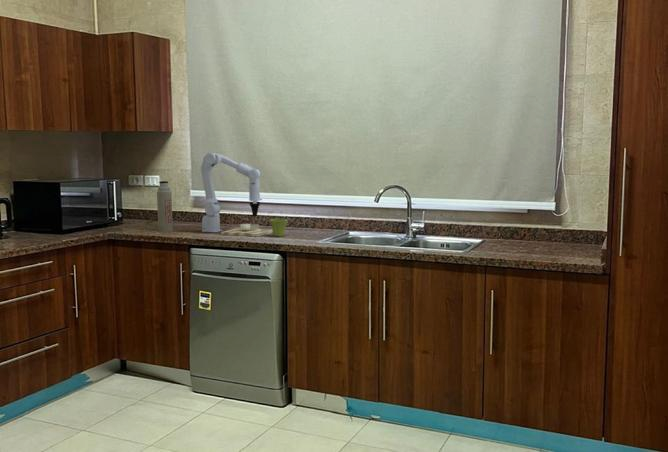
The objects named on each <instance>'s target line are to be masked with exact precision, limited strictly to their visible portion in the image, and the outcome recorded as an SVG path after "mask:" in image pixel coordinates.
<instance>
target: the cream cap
mask: <svg viewBox="0 0 668 452" xmlns="http://www.w3.org/2000/svg"><path fill="white" fill-rule="evenodd" d="M239 228H240V230H250V229H260V224H258V223H257V224H251V223H240V226H239Z"/></svg>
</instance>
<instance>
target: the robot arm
mask: <svg viewBox="0 0 668 452" xmlns="http://www.w3.org/2000/svg"><path fill="white" fill-rule="evenodd" d="M202 159H203V160H202V163H201V166H200V172H201V177H202V183H203V188H204V194H205V199H206V200H205V208H204V213H205V214H206V215H203V216H202V218H201V219H202V220H201V229H202V230H201V232H204V233H218V232H223V231H224V229H221V223H220V222H221V219H220V218H221V216H220V212H221V205H220V204H219V201H218V199H217V197H216V192H215V186H214V182H213V176H212V171H211V170H212V169H213V168H214V167H215V166H216V165H217V164H224V165H227V166H229V167H231V168H234V169H236V172H237V173H239V174H241V175H242V176H245V177H247V178H248V179H249V180H248V181H249V184H248V187H249V188H248V190H249V198H248V201H249V206H250V209H251V213H252V217H258V212H259V208H260V205H261V204H260V201H263V198H261V193H260V192H261V191H260V190H261V189H260V186H261V183H260V177H261V171H260V170H259V169H257V168H254V167H253V166H250V165H247V163H246V162H237V161H235V160H232V159H231V158H230V157H227V156H226V155H224V154H221V153H218V152H207V153H206V154H205V155H204V157H202Z"/></svg>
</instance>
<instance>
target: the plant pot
mask: <svg viewBox="0 0 668 452" xmlns="http://www.w3.org/2000/svg"><path fill="white" fill-rule="evenodd" d="M269 221H270V224H271V230H272V235H273V237H283V236H285V234H286V226H287V222H288V219H286V218H271V219H269Z"/></svg>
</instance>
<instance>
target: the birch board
mask: <svg viewBox="0 0 668 452" xmlns="http://www.w3.org/2000/svg"><path fill="white" fill-rule="evenodd" d="M268 234H273V231H272V229H263V228H262V229H261V228H259V229H250V230H249V231H241V230H240V227H236V228H233V229H228V230H225V231H224V230H223V231H220V235H221V236H235V237H236V236H237V237H252V236H256V237H257V236H258V237H260V236H261V235H262V236H266V235H268ZM262 236H261V237H262ZM256 237H255V238H256Z"/></svg>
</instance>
